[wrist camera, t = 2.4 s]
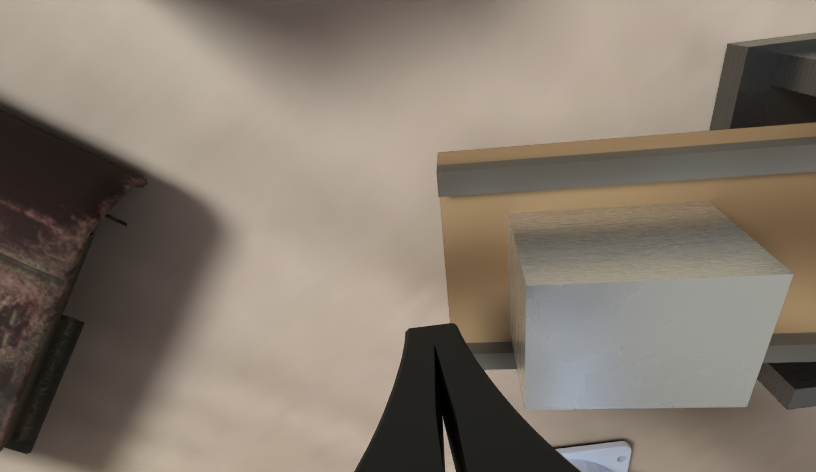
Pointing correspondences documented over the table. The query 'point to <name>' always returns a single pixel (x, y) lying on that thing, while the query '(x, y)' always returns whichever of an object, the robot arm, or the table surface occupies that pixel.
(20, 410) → the diary
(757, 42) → the stand
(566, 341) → the block
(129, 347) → the table surface
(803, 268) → the beam
